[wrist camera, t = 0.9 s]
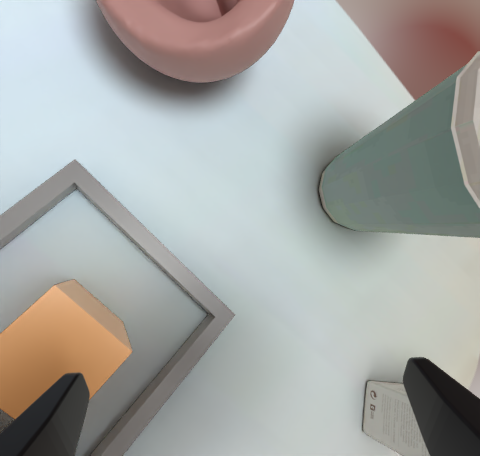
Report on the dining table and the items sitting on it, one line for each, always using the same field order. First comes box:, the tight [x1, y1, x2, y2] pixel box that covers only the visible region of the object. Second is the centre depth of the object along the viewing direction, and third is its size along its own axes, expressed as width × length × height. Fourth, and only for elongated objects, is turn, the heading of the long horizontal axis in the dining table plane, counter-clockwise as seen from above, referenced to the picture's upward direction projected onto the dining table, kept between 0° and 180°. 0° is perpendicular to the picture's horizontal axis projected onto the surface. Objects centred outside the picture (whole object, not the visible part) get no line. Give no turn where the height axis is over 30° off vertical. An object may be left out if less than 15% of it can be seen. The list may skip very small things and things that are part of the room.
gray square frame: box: [0, 160, 235, 456], centre depth 18 cm, size 14×14×2 cm
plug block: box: [0, 279, 132, 419], centre depth 15 cm, size 4×4×8 cm
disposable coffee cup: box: [319, 51, 480, 238], centre depth 22 cm, size 11×11×15 cm
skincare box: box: [363, 381, 430, 456], centre depth 22 cm, size 6×4×12 cm
